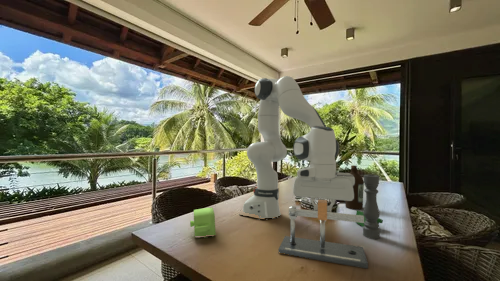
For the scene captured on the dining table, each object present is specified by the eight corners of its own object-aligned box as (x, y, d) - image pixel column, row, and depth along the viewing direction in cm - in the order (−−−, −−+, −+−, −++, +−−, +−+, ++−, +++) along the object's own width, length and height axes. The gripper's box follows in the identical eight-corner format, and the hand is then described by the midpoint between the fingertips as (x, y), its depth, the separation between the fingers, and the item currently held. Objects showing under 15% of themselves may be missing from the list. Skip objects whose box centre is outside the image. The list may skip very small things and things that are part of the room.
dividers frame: (286, 244, 83) (286, 207, 84) (289, 237, 89) (289, 203, 89) (365, 256, 75) (365, 215, 75) (363, 248, 81) (363, 209, 81)
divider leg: (317, 248, 79) (317, 202, 79) (318, 243, 83) (318, 199, 84) (326, 250, 78) (326, 203, 78) (327, 244, 82) (327, 199, 83)
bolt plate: (278, 253, 80) (278, 248, 80) (285, 239, 91) (285, 235, 91) (367, 268, 70) (367, 263, 70) (362, 251, 82) (362, 246, 82)
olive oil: (341, 207, 137) (341, 165, 137) (348, 204, 144) (348, 164, 144) (359, 211, 129) (359, 167, 129) (366, 207, 136) (366, 165, 137)
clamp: (376, 239, 102) (386, 223, 99) (365, 236, 101) (374, 220, 98) (363, 220, 113) (371, 205, 110) (352, 217, 113) (361, 203, 109)
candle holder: (360, 233, 98) (359, 174, 98) (373, 232, 98) (373, 174, 98) (368, 239, 92) (368, 176, 92) (383, 238, 92) (383, 176, 92)
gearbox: (190, 227, 106) (190, 206, 106) (212, 224, 108) (211, 204, 108) (190, 243, 88) (189, 218, 88) (216, 239, 91) (215, 215, 91)
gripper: (354, 172, 80) (354, 211, 80) (295, 169, 87) (295, 205, 87) (355, 174, 74) (355, 217, 74) (292, 171, 81) (292, 210, 81)
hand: (322, 210), depth 81 cm, fingers closed on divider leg, 3 cm apart
